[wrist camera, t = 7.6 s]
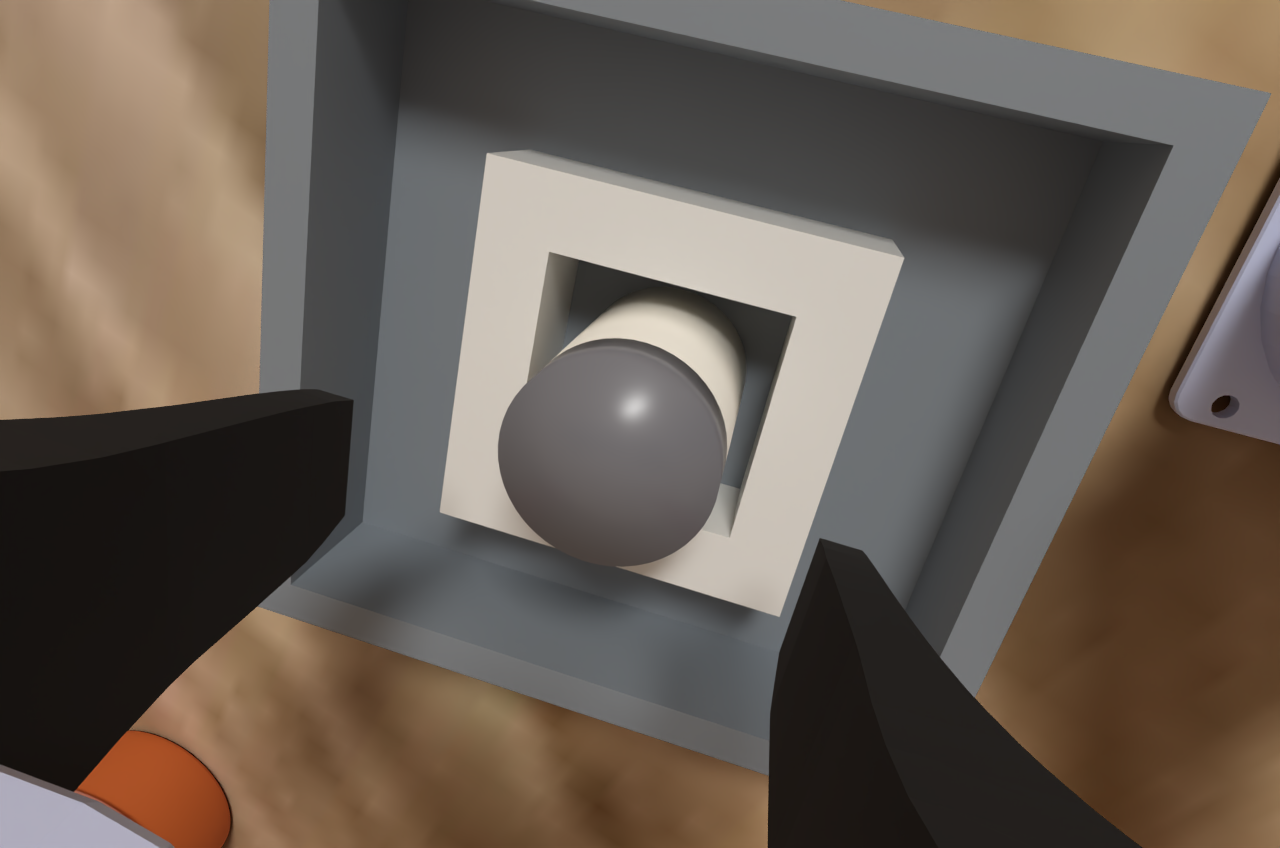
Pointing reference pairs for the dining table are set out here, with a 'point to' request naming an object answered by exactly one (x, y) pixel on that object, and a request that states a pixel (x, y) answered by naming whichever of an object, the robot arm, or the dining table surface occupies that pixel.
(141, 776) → the cup with straw
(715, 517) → the inlet socket
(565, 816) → the dining table surface
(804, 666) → the robot arm
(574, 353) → the connector peg
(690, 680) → the walled box
